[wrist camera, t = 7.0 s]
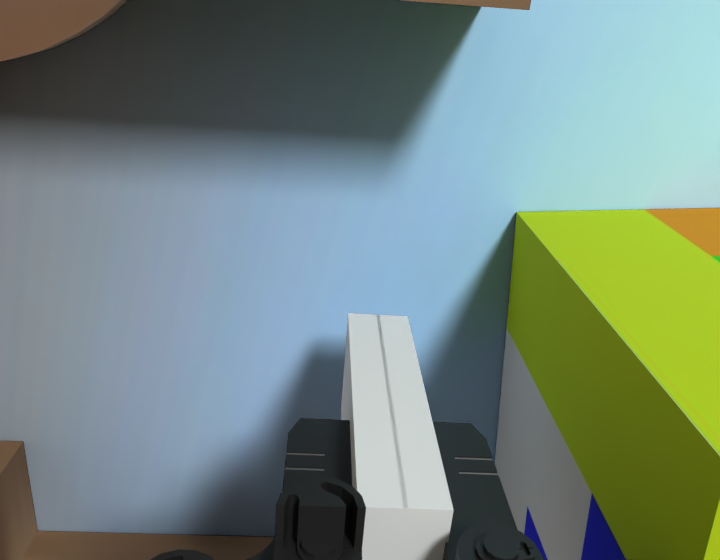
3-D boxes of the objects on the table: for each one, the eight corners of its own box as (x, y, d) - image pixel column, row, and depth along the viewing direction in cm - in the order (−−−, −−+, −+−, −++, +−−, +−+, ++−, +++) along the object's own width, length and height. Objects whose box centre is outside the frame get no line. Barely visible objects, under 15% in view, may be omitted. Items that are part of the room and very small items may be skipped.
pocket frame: (-123, -102, 14) (-289, -137, 10) (490, -53, 15) (541, -69, 11) (3, 558, 21) (-67, 677, 17) (408, 569, 22) (423, 685, 18)
